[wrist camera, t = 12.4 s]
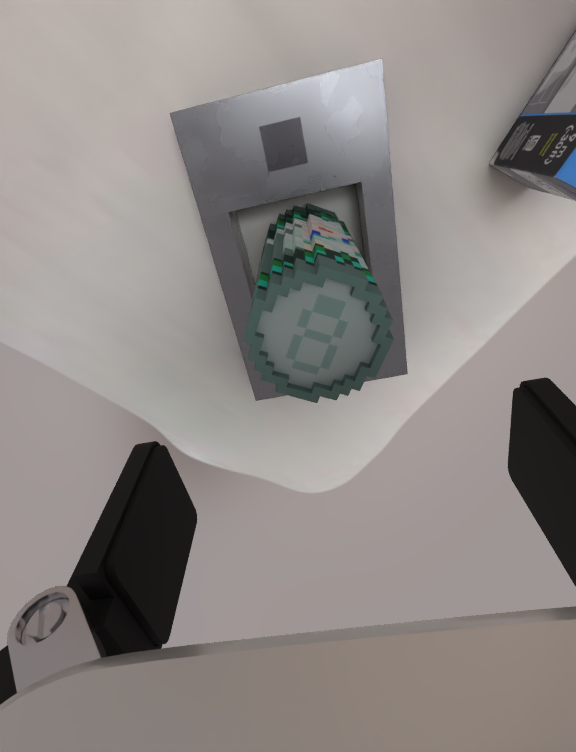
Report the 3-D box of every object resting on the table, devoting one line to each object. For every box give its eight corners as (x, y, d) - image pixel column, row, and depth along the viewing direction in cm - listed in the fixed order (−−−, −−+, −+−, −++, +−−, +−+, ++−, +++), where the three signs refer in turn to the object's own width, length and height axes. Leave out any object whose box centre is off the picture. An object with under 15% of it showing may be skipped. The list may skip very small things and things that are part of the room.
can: (361, 221, 30) (415, 295, 17) (331, 300, 33) (357, 413, 20) (278, 193, 29) (269, 249, 16) (255, 277, 32) (231, 380, 19)
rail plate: (372, 65, 26) (382, 58, 23) (398, 355, 35) (407, 374, 33) (181, 114, 27) (169, 113, 24) (258, 381, 37) (255, 401, 34)
